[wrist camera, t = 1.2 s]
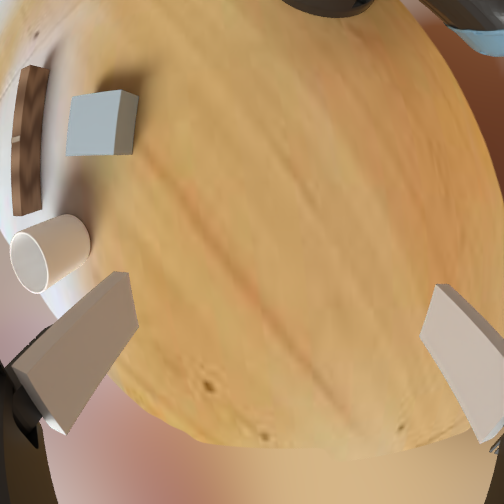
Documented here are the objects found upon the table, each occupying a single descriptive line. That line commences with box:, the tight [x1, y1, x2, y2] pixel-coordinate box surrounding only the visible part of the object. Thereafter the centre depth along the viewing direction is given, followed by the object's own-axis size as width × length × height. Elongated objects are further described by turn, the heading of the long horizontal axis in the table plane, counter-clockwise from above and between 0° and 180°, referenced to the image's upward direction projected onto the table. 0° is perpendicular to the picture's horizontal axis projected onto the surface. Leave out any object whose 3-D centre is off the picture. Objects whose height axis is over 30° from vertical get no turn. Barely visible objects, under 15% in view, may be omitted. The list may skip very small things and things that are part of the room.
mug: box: [10, 214, 90, 294], centre depth 32 cm, size 9×12×11 cm
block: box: [66, 90, 139, 156], centre depth 29 cm, size 8×8×5 cm
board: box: [11, 65, 50, 216], centre depth 29 cm, size 24×2×5 cm, turn 176°
